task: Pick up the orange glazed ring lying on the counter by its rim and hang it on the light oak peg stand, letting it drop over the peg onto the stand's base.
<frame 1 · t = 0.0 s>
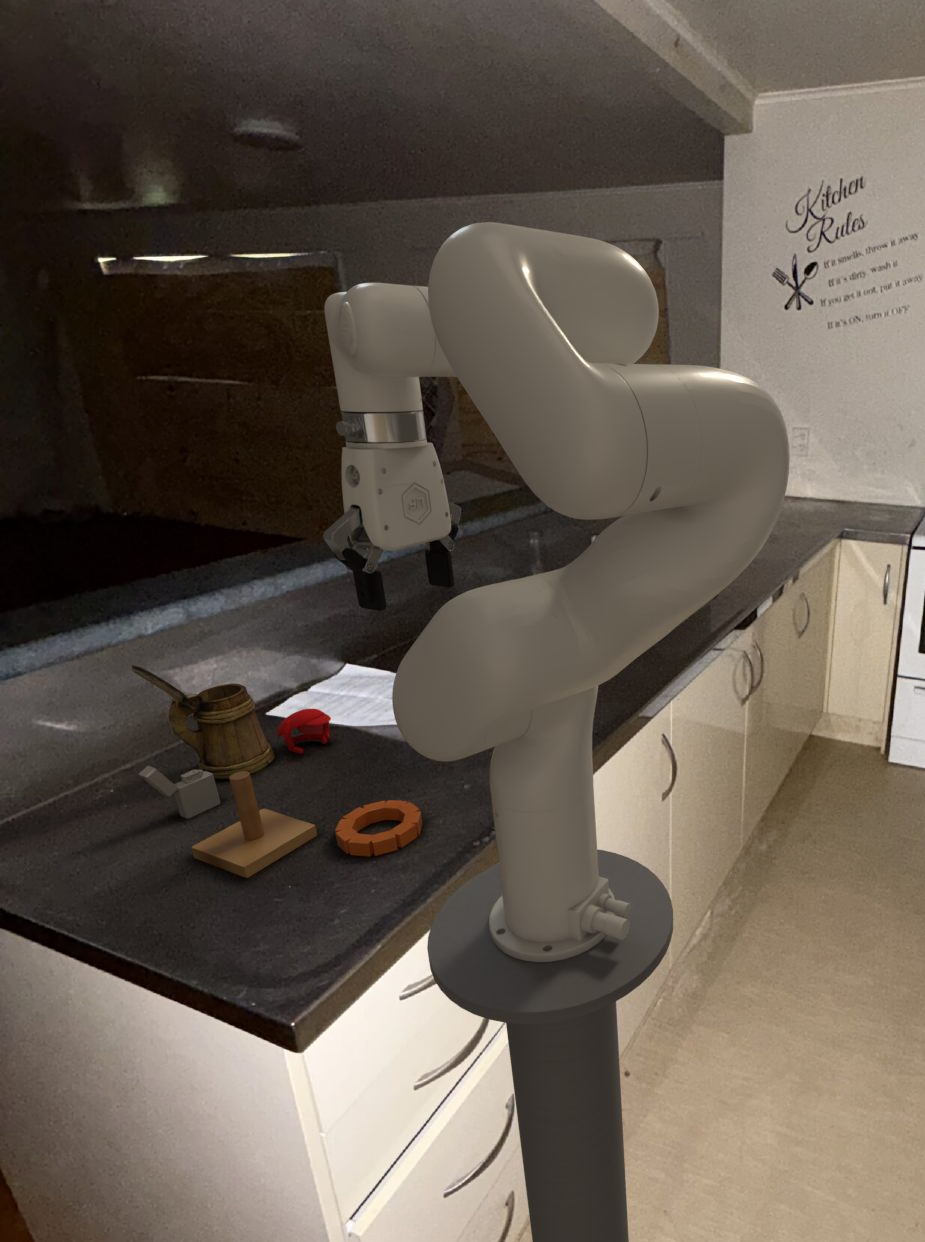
hand: (409, 596, 80), 30 cm above the counter, tool pointing down, fingers open, 9 cm apart
wooden mug: (221, 772, 104), on the counter
red helmet: (309, 748, 111), on the counter
lighter: (188, 816, 94), on the counter
stand: (257, 846, 88), on the counter
ring: (381, 833, 90), on the counter
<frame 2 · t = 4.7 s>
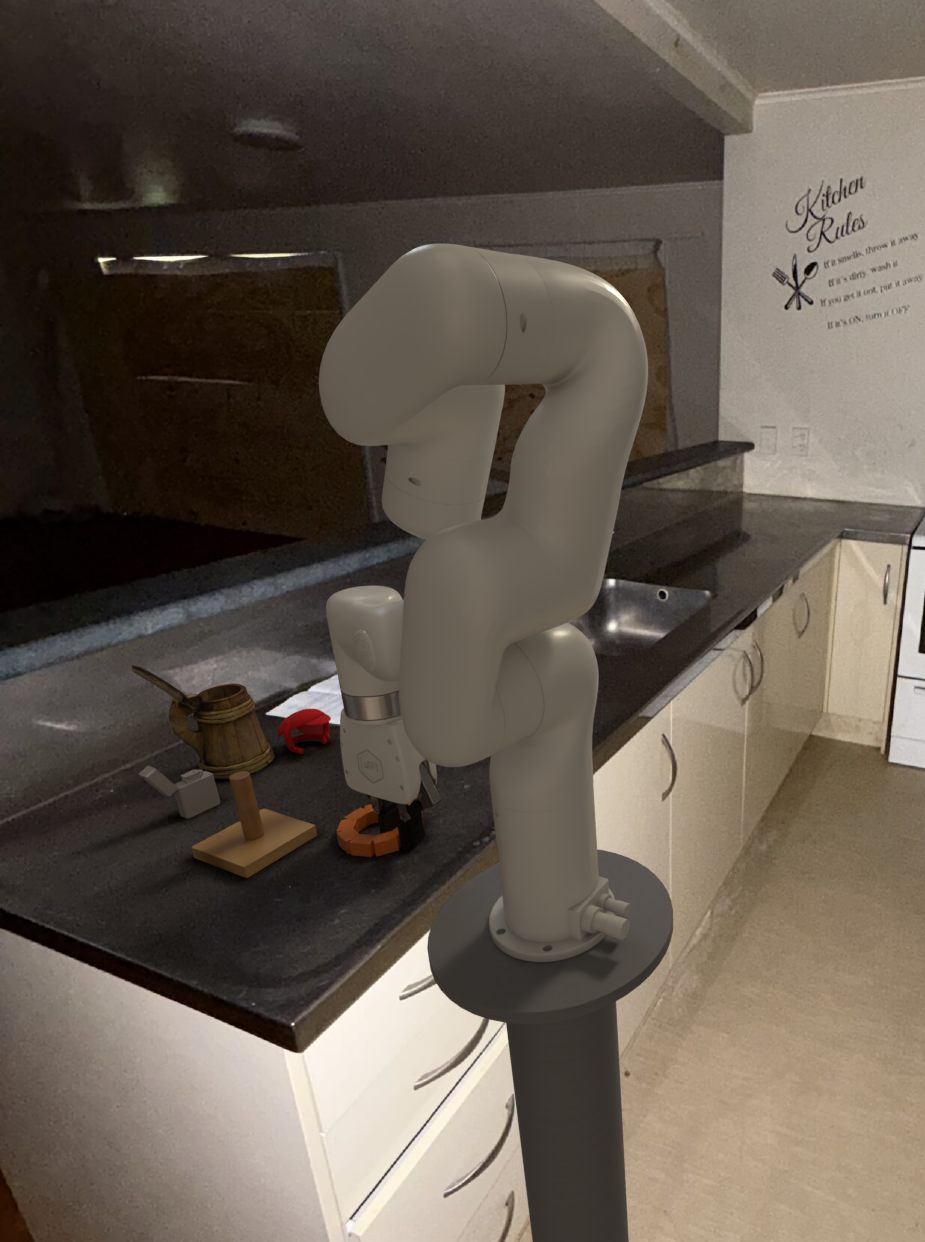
hand: (403, 839, 89), 0 cm above the counter, tool pointing down, fingers closed on ring, 2 cm apart
ring: (382, 833, 90), on the counter, touching gripper
everything else where it was.
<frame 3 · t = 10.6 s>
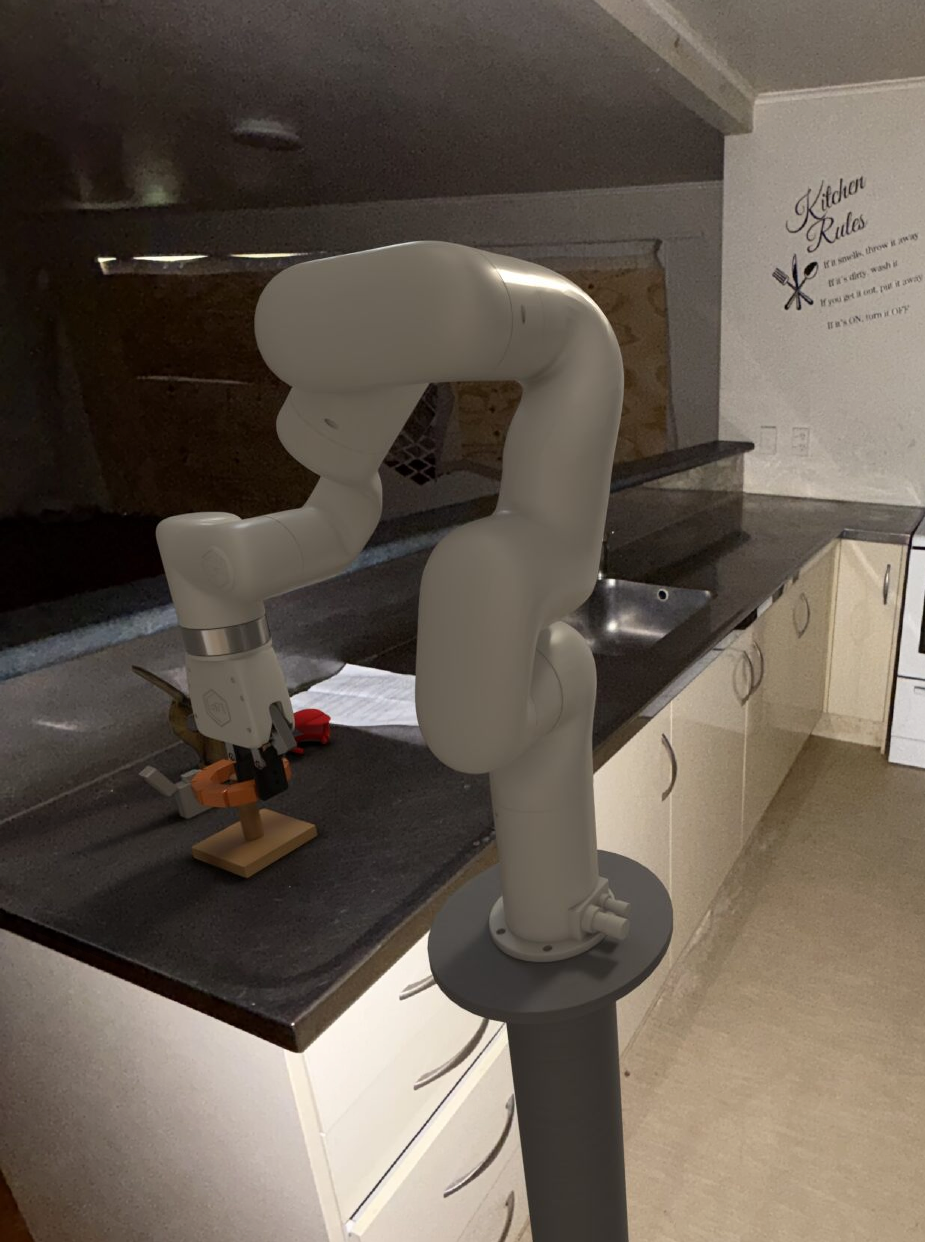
hand: (265, 790, 83), 8 cm above the counter, tool pointing down, fingers closed on ring
ring: (244, 785, 85), point 8 cm above the counter, touching gripper
everything else where it was.
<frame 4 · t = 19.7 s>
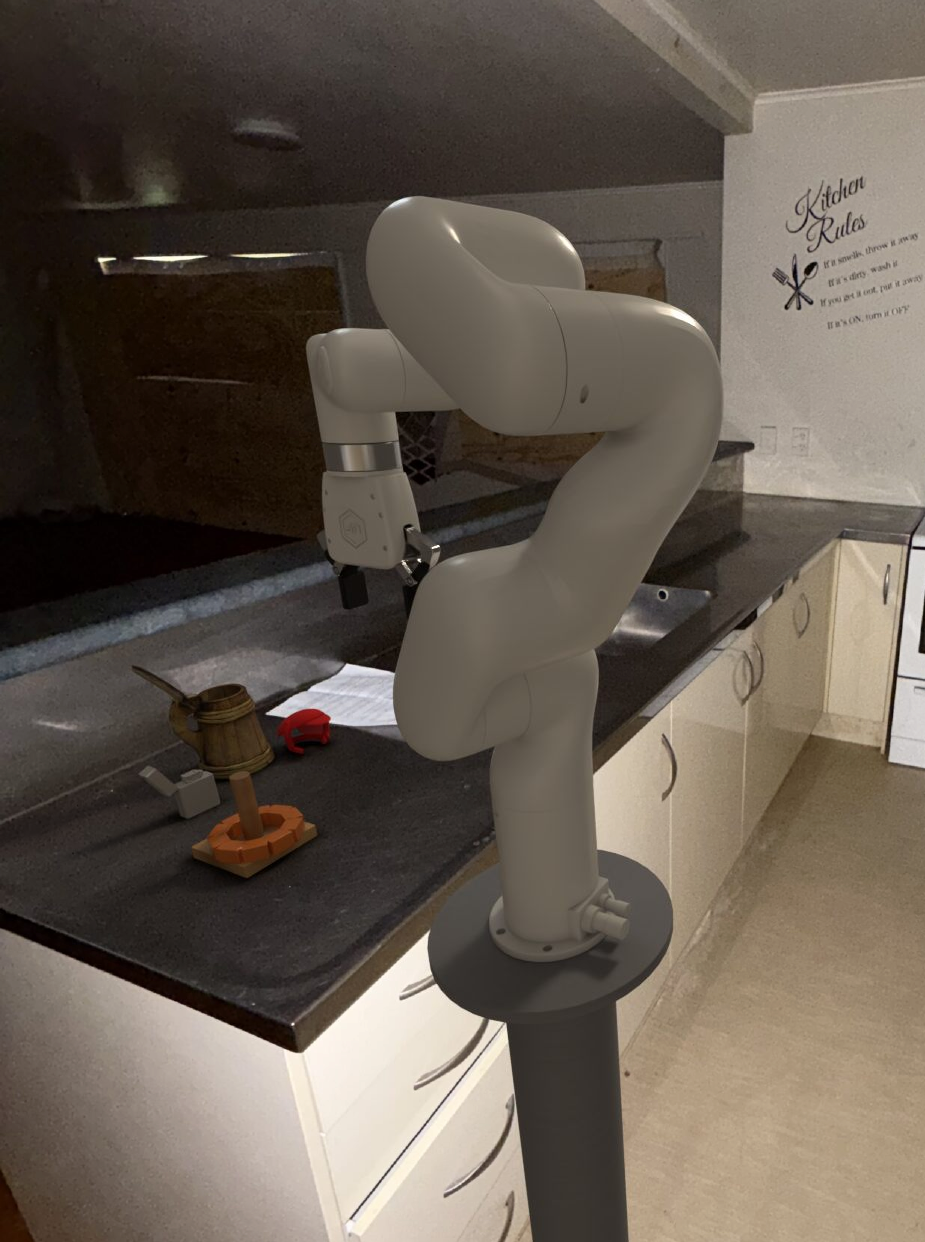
hand: (387, 611, 86), 26 cm above the counter, tool pointing down, fingers open, 9 cm apart
ring: (259, 839, 86), point 1 cm above the counter, touching stand
everything else where it was.
at the end: ring 1.3 cm from the stand (horizontally); ring point 1.5 cm above the counter; the gripper is holding nothing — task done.
